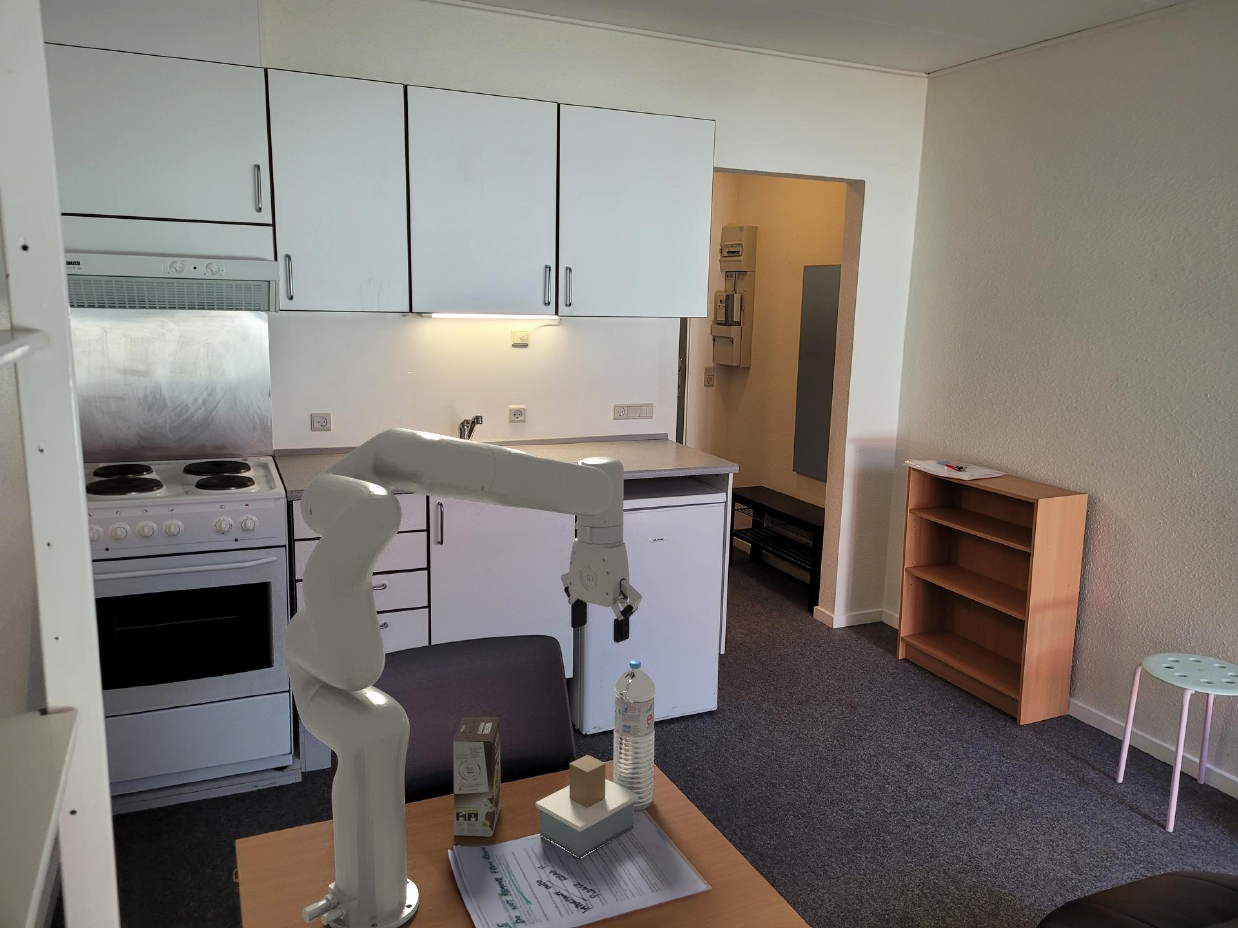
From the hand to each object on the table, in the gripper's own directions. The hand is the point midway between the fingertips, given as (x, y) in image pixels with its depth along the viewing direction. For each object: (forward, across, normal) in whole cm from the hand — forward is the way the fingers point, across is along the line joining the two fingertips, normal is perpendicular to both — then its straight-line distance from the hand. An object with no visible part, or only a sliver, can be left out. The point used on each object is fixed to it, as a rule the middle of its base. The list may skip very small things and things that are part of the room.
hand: (599, 633), depth 153 cm
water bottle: (+29, +6, +3) cm, 30 cm away
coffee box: (+29, -9, -19) cm, 36 cm away
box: (+29, +6, -9) cm, 31 cm away
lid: (+24, +6, -9) cm, 27 cm away
